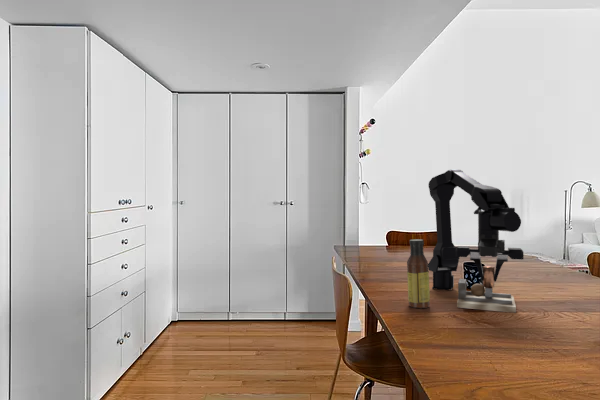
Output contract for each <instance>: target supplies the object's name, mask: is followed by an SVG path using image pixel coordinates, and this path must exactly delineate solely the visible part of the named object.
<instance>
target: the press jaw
mask: <svg viewBox="0 0 600 400" xmlns="http://www.w3.org/2000/svg"><path fill="white" fill-rule="evenodd" d="M495 268H496V266H493V265H492V266H491V265H484V266H482V271H483V281H482V285H483V287H484V288H485V298H487V299H492V293H493V288H495Z"/></svg>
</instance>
